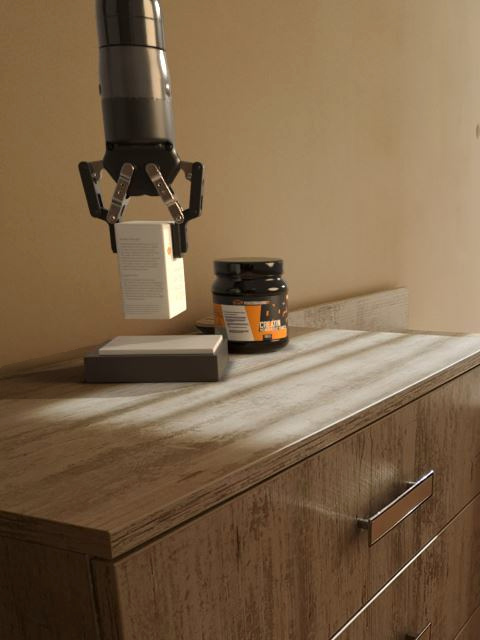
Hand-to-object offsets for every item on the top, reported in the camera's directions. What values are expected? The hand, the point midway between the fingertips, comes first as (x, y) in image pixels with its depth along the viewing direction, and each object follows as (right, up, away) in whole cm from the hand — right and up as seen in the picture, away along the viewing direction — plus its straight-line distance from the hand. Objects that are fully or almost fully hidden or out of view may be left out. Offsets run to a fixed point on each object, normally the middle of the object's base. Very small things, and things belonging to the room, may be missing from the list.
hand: (150, 257), depth 95 cm
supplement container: (+9, -7, +20) cm, 23 cm away
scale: (0, -13, +5) cm, 13 cm away
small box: (0, -6, +2) cm, 7 cm away
